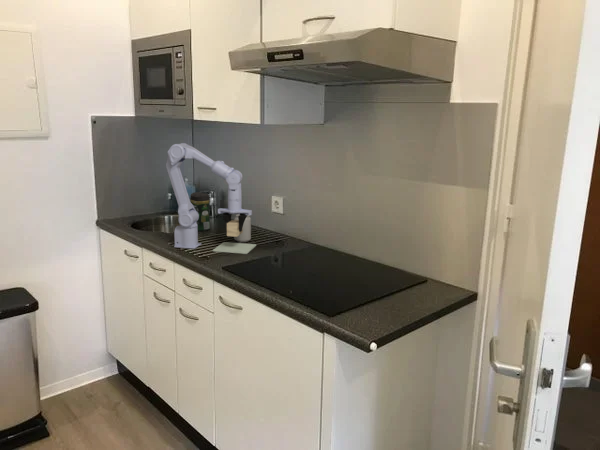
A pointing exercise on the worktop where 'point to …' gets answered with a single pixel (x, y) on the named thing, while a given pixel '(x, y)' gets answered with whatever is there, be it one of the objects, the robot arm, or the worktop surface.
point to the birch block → (233, 228)
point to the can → (244, 230)
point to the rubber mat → (234, 247)
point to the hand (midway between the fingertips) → (234, 230)
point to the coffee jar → (201, 209)
